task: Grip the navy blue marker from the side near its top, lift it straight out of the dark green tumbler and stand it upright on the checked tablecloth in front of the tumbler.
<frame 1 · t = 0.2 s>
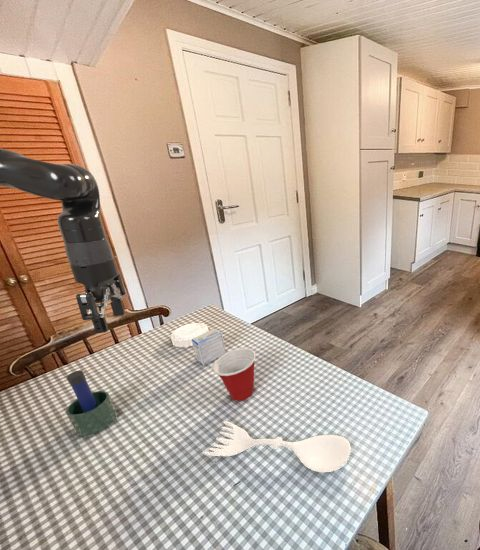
hand: (111, 323, 73), 25 cm above the table, tool pointing down, fingers open, 8 cm apart
white spork: (281, 453, 69), on the table
mooncake: (191, 338, 111), on the table
plastic cup: (241, 394, 85), on the table
marker: (96, 422, 76), point 1 cm above the table, touching tumbler
medicine box: (212, 358, 101), on the table
tumbler: (97, 424, 76), on the table
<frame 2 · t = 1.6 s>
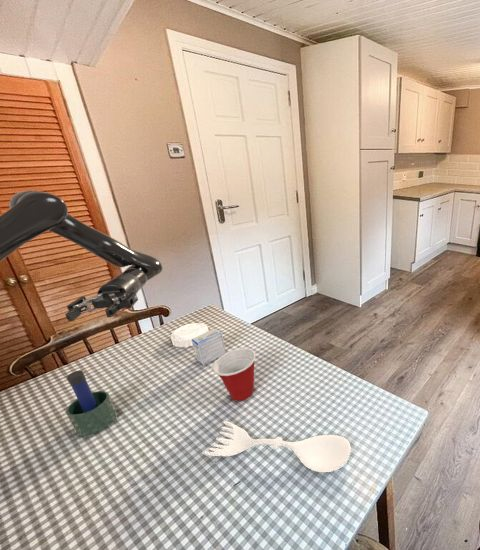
hand: (88, 315, 76), 25 cm above the table, tool horizontal, fingers open, 8 cm apart
nothing on the table moved.
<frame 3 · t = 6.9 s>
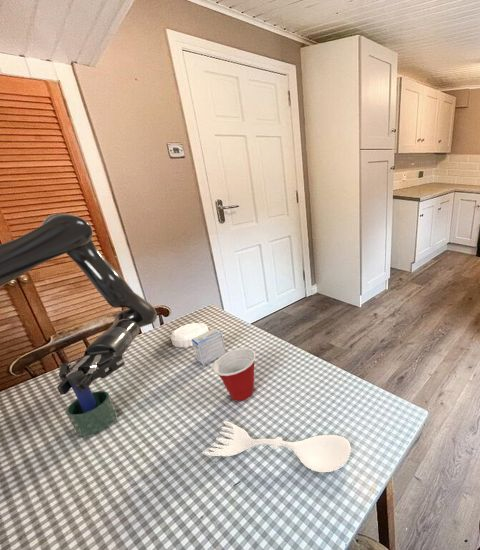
hand: (70, 389, 68), 14 cm above the table, tool horizontal, fingers closed on marker, 3 cm apart
marker: (96, 422, 76), point 1 cm above the table, touching gripper, tumbler
everything else where it was.
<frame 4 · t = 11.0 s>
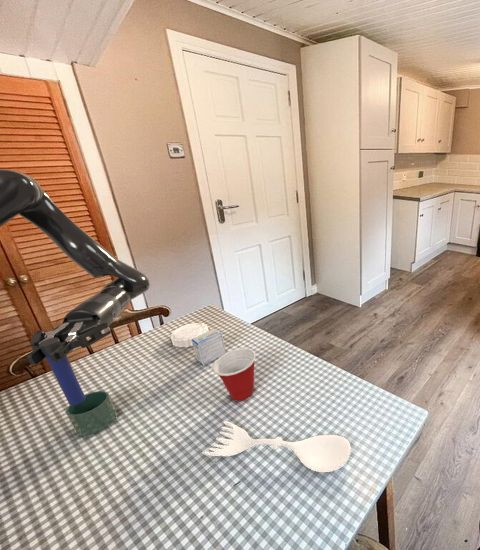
hand: (42, 359, 57), 28 cm above the table, tool horizontal, fingers closed on marker, 3 cm apart
marker: (77, 400, 64), point 15 cm above the table, touching gripper
everything else where it was.
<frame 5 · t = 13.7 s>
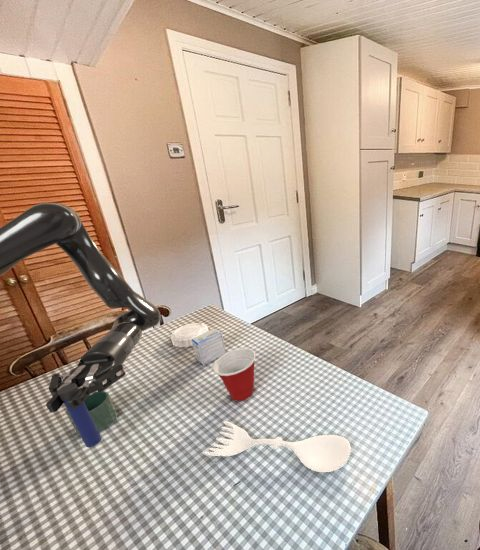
hand: (61, 407, 58), 18 cm above the table, tool horizontal, fingers closed on marker, 3 cm apart
marker: (93, 442, 66), point 5 cm above the table, touching gripper
everything else where it was.
when the fingers open (13 cm above the table, at t = 15.4 s): marker stays where it is, on the table.
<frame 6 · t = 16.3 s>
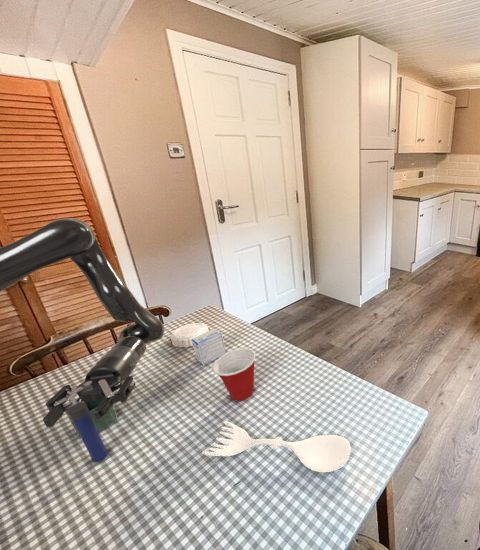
hand: (72, 419, 61), 14 cm above the table, tool horizontal, fingers open, 8 cm apart
marker: (101, 458, 67), on the table
everything else where it was.
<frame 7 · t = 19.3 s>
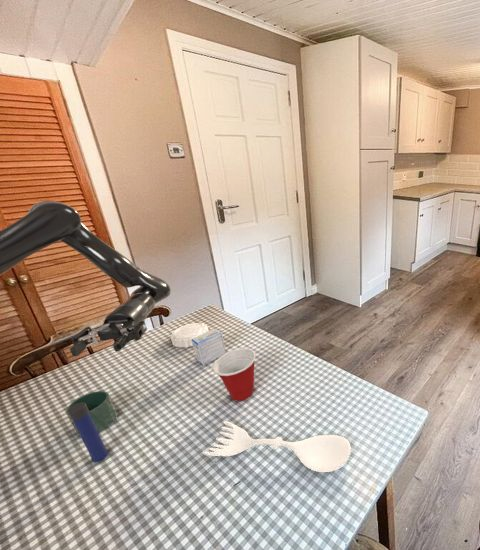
hand: (95, 350, 71), 20 cm above the table, tool horizontal, fingers open, 8 cm apart
nothing on the table moved.
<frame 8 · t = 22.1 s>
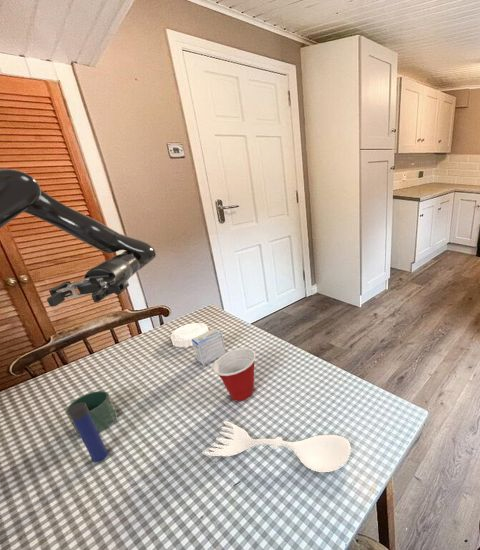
hand: (72, 300, 69), 32 cm above the table, tool horizontal, fingers open, 8 cm apart
nothing on the table moved.
at the end: marker inside the target area (0.1 cm from its centre), on the table; marker tilted 0°; marker touching table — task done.
